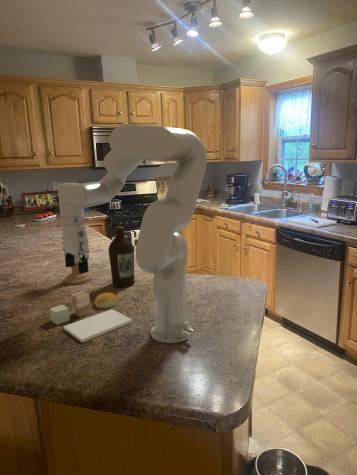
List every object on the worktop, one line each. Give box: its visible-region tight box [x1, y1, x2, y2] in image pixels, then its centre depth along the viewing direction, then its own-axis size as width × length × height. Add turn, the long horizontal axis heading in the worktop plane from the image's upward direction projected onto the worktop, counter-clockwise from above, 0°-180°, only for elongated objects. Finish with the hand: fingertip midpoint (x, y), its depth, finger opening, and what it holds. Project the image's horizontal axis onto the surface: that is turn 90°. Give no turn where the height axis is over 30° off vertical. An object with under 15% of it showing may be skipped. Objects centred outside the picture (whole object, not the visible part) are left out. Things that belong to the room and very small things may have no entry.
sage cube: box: [49, 304, 71, 326], centre depth 118 cm, size 4×4×4 cm
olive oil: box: [108, 226, 135, 288], centre depth 149 cm, size 11×11×25 cm
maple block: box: [70, 290, 92, 318], centre depth 123 cm, size 4×4×7 cm
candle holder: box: [61, 236, 93, 285], centre depth 156 cm, size 12×12×20 cm
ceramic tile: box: [63, 309, 133, 343], centre depth 113 cm, size 12×18×1 cm, turn 133°
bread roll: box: [93, 292, 118, 309], centre depth 131 cm, size 8×9×4 cm
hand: (76, 269), depth 120 cm, fingers open, 9 cm apart
